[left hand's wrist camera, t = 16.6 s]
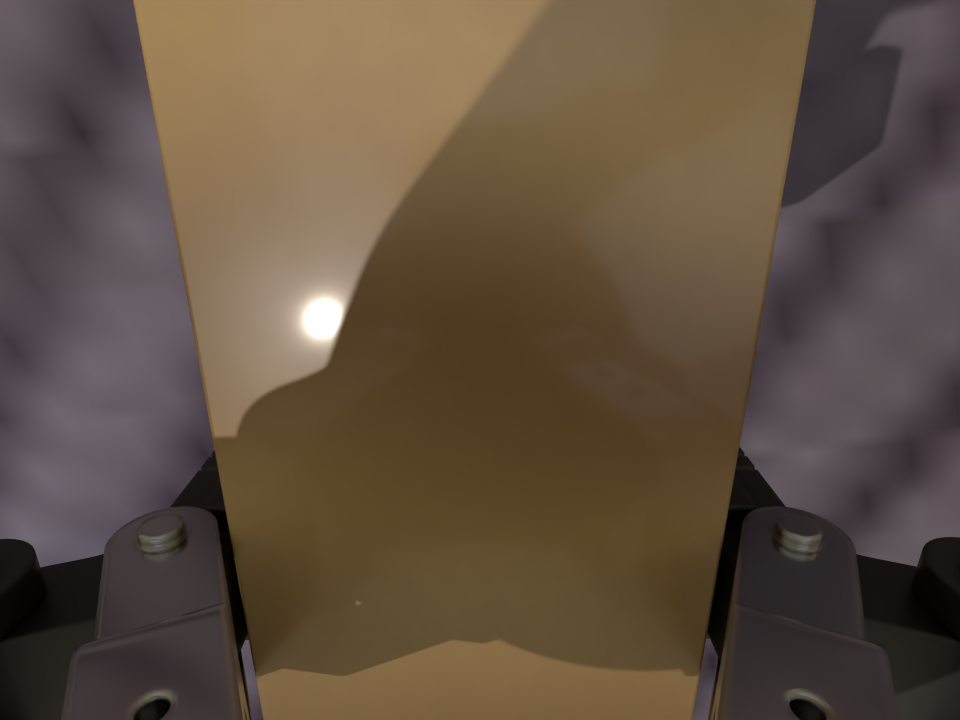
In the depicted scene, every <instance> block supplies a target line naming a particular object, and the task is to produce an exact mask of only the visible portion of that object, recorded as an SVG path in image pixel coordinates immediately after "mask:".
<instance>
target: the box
mask: <svg viewBox="0 0 960 720" xmlns="http://www.w3.org/2000/svg"><path fill="white" fill-rule="evenodd" d="M133 1H134V7H135V12H136V18H137V23H138V29H139V34H140V40H141V45H142V51H143V56H144V62H145V67H146V73H147V78H148V84H149V89H150V95H151V100H152V106H153V112H154V117H155V123H156V128H157V134H158V139H159V145H160V150H161V156H162V161H163V167H164V172H165V178H166V183H167V189H168V194H169V200H170V206H171V211H172V217H173V222H174V228H175V233H176V239H177V244H178V250H179V255H180V261H181V266H182V272H183V277H184V283H185V288H186V294H187V299H188V305H189V311H190V316H191V322H192V327H193V333H194V338H195V344H196V349H197V355H198V360H199V366H200V371H201V377H202V382H203V388H204V393H205V399H206V405H207V410H208V416H209V421H210V427H211V432H212V438H213V443H214V449H215V454H216V460H217V465H218V471H219V476H220V482H221V487H222V493H223V499H224V504H225V510H226V515H227V521H228V526H229V532H230V537H231V543H232V548H233V554H234V559H235V565H236V570H237V576H238V581H239V587H240V592H241V598H242V604H243V609H244V615H245V620H246V626H247V631H248V637H249V642H250V648H251V653H252V659H253V664H254V670H255V675H256V681H257V686H258V692H259V698H260V703H261V709H262V714H263V720H692V717H693V711H694V705H695V700H696V694H697V688H698V682H699V676H700V671H701V665H702V659H703V653H704V647H705V642H706V636H707V630H708V624H709V619H710V613H711V607H712V601H713V595H714V590H715V584H716V578H717V572H718V566H719V561H720V555H721V549H722V543H723V538H724V532H725V526H726V520H727V514H728V509H729V503H730V497H731V491H732V485H733V480H734V474H735V468H736V462H737V457H738V451H739V445H740V439H741V433H742V428H743V422H744V416H745V410H746V404H747V399H748V393H749V387H750V381H751V376H752V370H753V364H754V358H755V352H756V347H757V341H758V335H759V329H760V323H761V318H762V312H763V306H764V300H765V295H766V289H767V283H768V277H769V271H770V266H771V260H772V254H773V248H774V242H775V237H776V231H777V225H778V219H779V214H780V208H781V202H782V196H783V190H784V185H785V179H786V173H787V167H788V161H789V156H790V150H791V144H792V138H793V133H794V127H795V121H796V115H797V109H798V104H799V98H800V92H801V86H802V80H803V75H804V69H805V63H806V57H807V52H808V46H809V40H810V34H811V28H812V23H813V17H814V11H815V5H816V0H133Z"/></svg>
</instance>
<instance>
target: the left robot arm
mask: <svg viewBox="0 0 960 720" xmlns="http://www.w3.org/2000/svg"><path fill="white" fill-rule="evenodd" d="M754 467H755V466H754V465H753V464H752V463H751V461H750V460H749V459H748V457H747V456H744V452H743V451H742V450H741V448H740V447H739V451H738V457H737V462H736V468H735V474H734V480H733V485H732V491H731V497H730V503H729V509H728V514H727V520H726V526H725V532H724V538H723V543H722V549H721V555H720V561H719V566H718V572H717V578H716V584H715V590H714V595H713V601H712V607H711V613H710V619H709V624H708V630H707V636H706V638H710V639H711V642H712V644H713V646H714V648H715V651H716V653H717V655H718V659H717V665H716V670H715V676H714V683H713V689H712V696H711V703H710V709H709V716H708V720H960V538H957V537H943V538H937V539H934V540H931V541H929V542H928V543H926V544H925V546H924V547H923V550H922V553H921V556H920V559H919V562H918V566H917V567H915V566H910V565H905V564H900V563H895V562H890V561H885V560H880V559H875V558H870V557H865V556H861V555H857V554H856V550H855V546H854V544H853V542H852V540H851V539H850V538H849V537H848V535H847V534H846V533H845V532H844V531H842V530H841V529H840V528H839V527H837V526H836V525H834V524H833V523H831V522H829V521H828V520H826V519H824V518H822V517H820V516H817V515H815V514H812V513H809V512H806V511H803V510H799V509H794V508H789V507H785V505H784V504H783V503H782V501H781V500H780V499H779V497H778V496H777V495H776V494H775V492H774V491H773V490H772V488H771V487H770V486H769V485H768V483H767V482H766V481H765V479H764V478H763V477H762V475H761V474H760V473H759V472H758V470H755V468H754ZM245 640H249V637H248V631H247V626H246V620H245V615H244V609H243V604H242V598H241V592H240V587H239V581H238V576H237V570H236V565H235V559H234V554H233V548H232V543H231V537H230V532H229V526H228V521H227V515H226V510H225V504H224V499H223V493H222V487H221V482H220V476H219V471H218V465H217V460H216V454H215V451H214V452H213V453H212V457H209V458H208V459H207V461H206V462H205V463H204V465H203V466H202V467H201V471H198V472H197V474H196V475H195V476H194V477H193V479H192V480H191V481H190V483H189V484H188V485H187V486H186V488H185V489H184V490H183V491H182V493H181V494H180V495H179V497H178V498H177V499H176V500H175V502H174V503H173V504H172V506H171V507H170V508H166V509H161V510H157V511H154V512H151V513H148V514H145V515H143V516H140V517H138V518H136V519H134V520H132V521H131V522H129V523H127V524H126V525H124V526H123V527H121V528H120V529H119V530H118V531H116V532H115V533H114V534H113V535H112V537H111V538H110V539H109V540H108V542H107V544H106V546H105V550H104V554H102V555H99V556H95V557H90V558H86V559H81V560H76V561H71V562H66V563H61V564H56V565H51V566H46V567H41V568H40V565H39V562H38V559H37V556H36V553H35V550H34V548H33V547H32V546H31V545H30V544H29V543H27V542H24V541H22V540H16V539H0V720H252V715H251V709H250V702H249V696H248V689H247V683H246V676H245V670H244V664H243V659H242V654H241V648H242V646H243V644H244V641H245Z"/></svg>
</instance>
